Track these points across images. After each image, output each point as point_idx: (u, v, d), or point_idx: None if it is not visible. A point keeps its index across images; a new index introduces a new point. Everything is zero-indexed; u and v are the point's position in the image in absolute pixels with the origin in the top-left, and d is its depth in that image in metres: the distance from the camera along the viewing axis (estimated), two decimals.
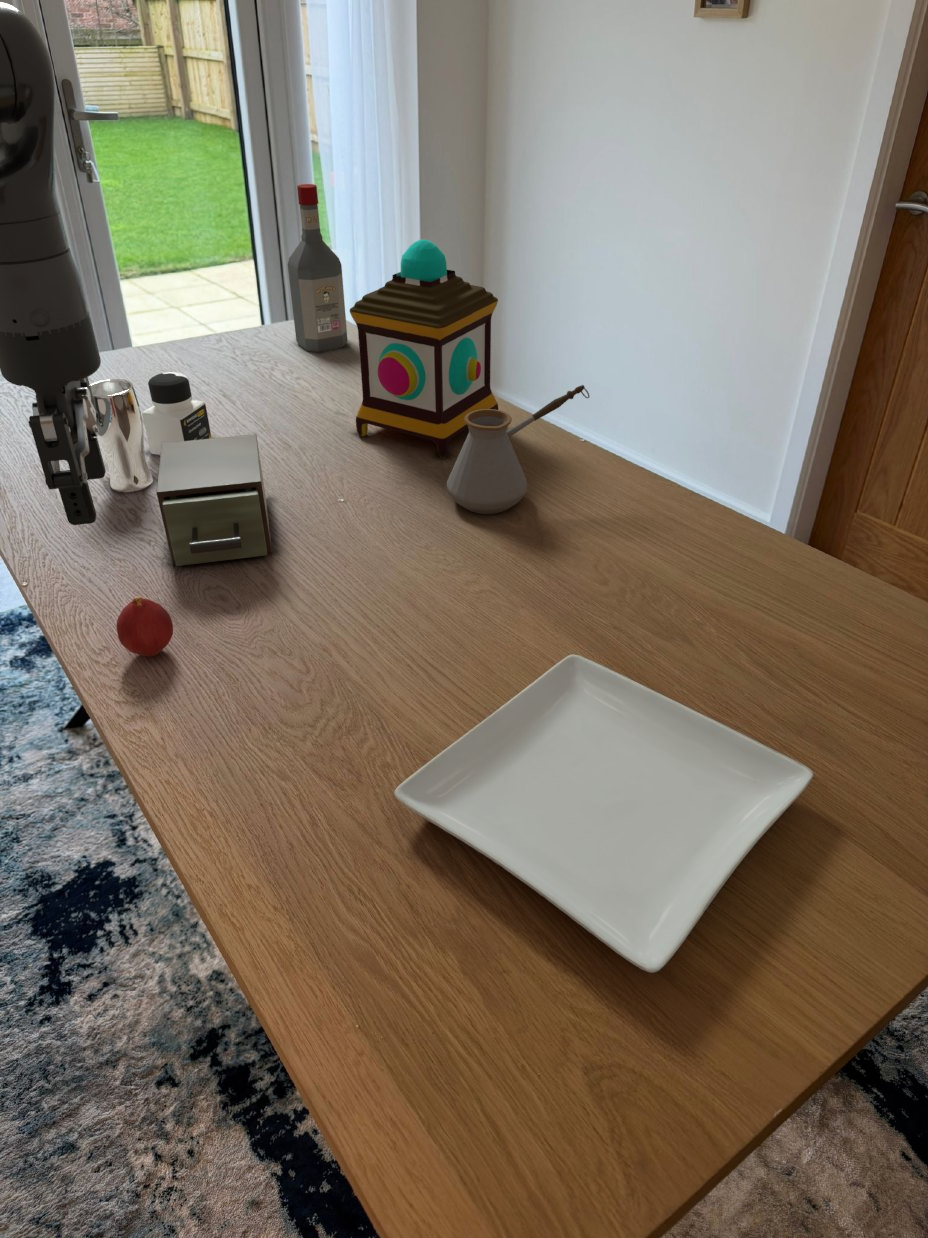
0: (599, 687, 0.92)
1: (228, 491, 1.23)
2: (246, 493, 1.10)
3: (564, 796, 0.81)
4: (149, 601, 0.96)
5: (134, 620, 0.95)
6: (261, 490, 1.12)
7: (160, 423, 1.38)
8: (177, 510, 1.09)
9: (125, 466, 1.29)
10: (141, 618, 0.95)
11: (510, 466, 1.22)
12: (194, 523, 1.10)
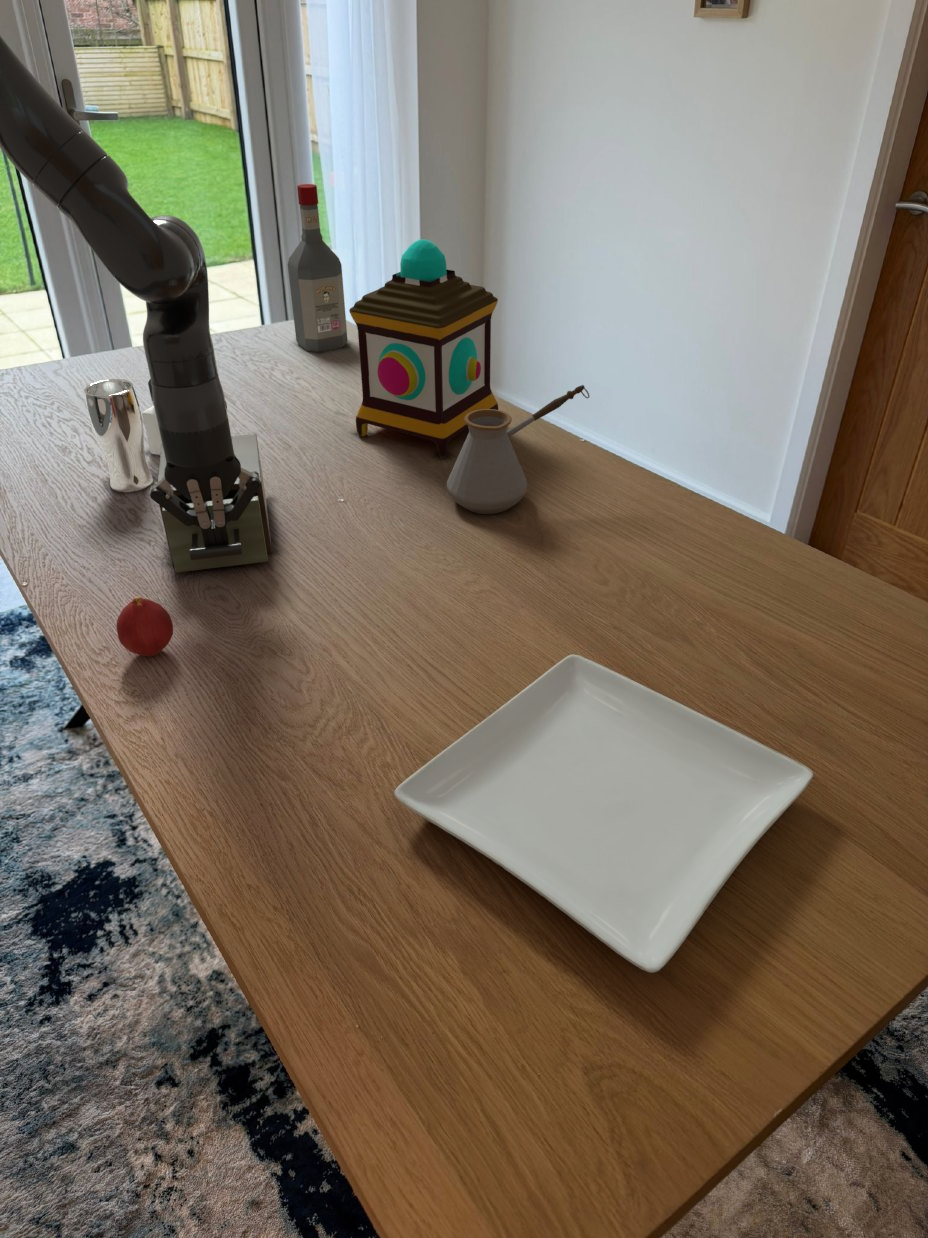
0: (599, 687, 0.92)
1: (228, 496, 1.21)
2: None
3: (564, 796, 0.81)
4: (149, 601, 0.96)
5: (134, 620, 0.95)
6: (261, 490, 1.12)
7: None
8: None
9: (125, 466, 1.29)
10: (141, 618, 0.95)
11: (510, 466, 1.22)
12: (194, 529, 1.09)
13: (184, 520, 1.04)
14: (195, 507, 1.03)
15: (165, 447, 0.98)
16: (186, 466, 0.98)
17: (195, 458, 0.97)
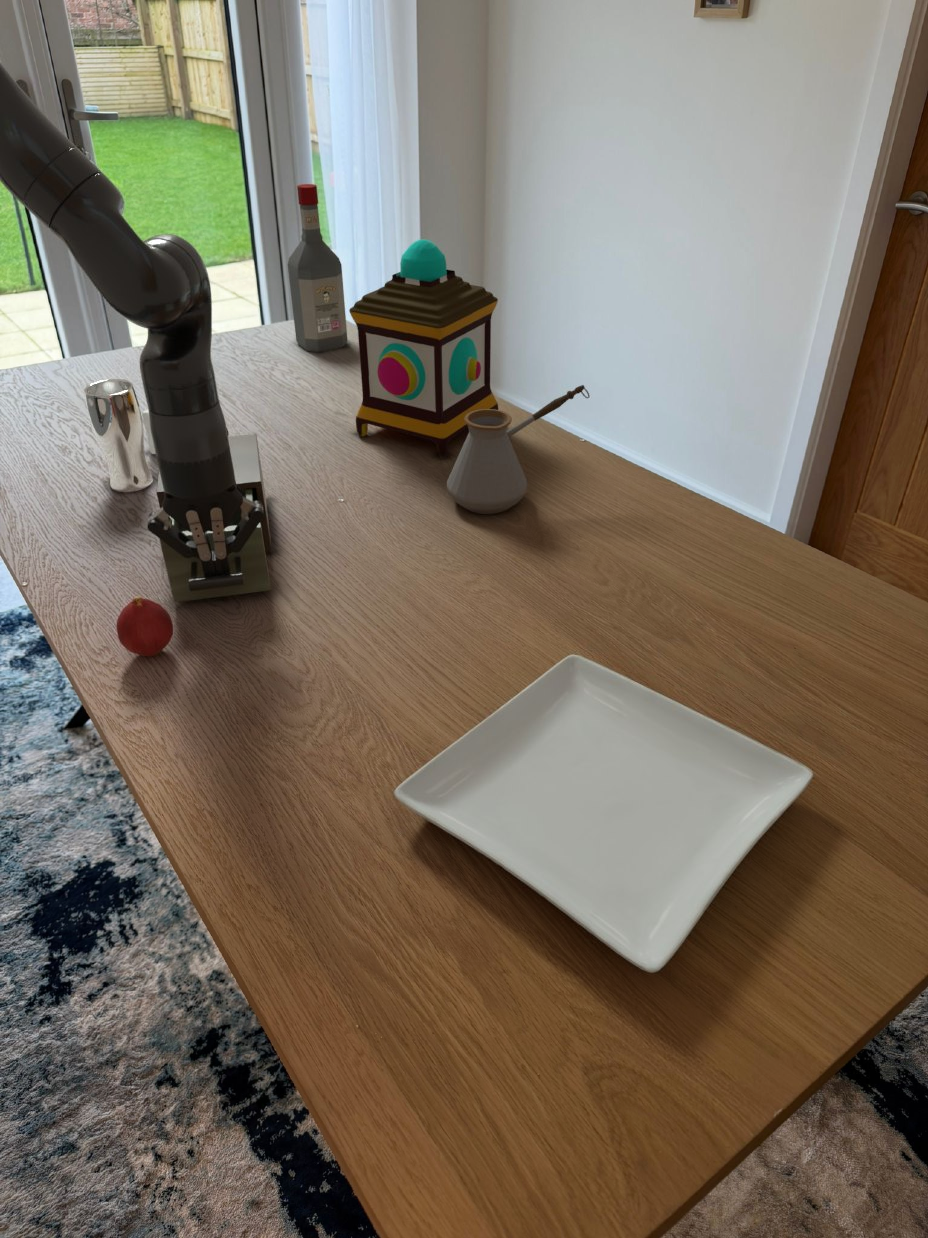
0: (599, 687, 0.92)
1: None
2: None
3: (564, 796, 0.81)
4: (149, 601, 0.96)
5: (134, 620, 0.95)
6: (261, 490, 1.12)
7: None
8: None
9: (125, 466, 1.29)
10: (141, 618, 0.95)
11: (510, 466, 1.22)
12: (193, 557, 1.04)
13: (183, 552, 0.99)
14: (195, 539, 0.98)
15: (163, 477, 0.93)
16: (185, 497, 0.93)
17: (195, 489, 0.92)
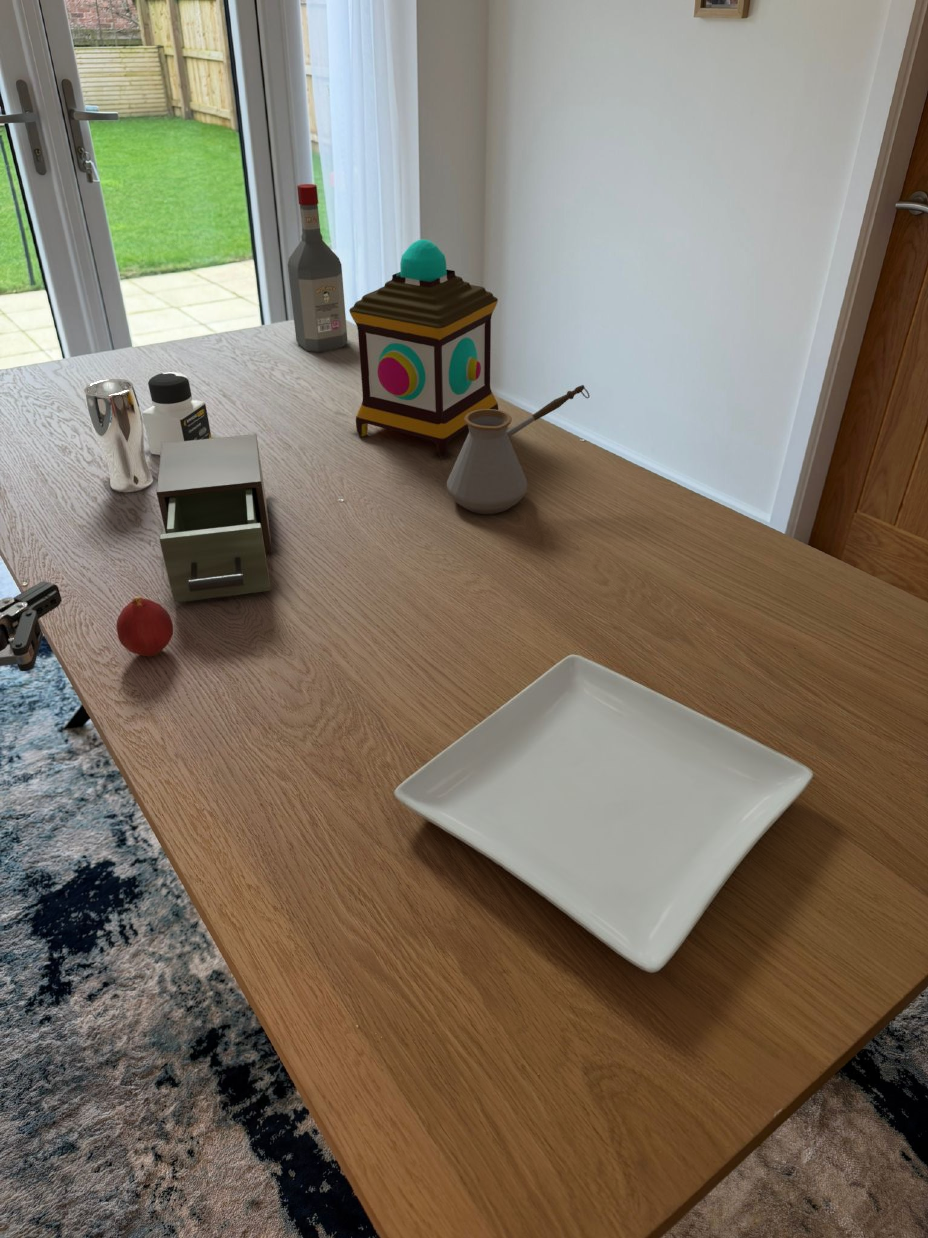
0: (599, 687, 0.92)
1: (229, 520, 1.16)
2: (248, 526, 1.04)
3: (564, 796, 0.81)
4: (149, 601, 0.96)
5: (134, 620, 0.95)
6: (261, 490, 1.12)
7: (160, 423, 1.38)
8: (175, 544, 1.02)
9: (125, 466, 1.29)
10: (141, 618, 0.95)
11: (510, 466, 1.22)
12: (193, 558, 1.04)
13: None
14: None
15: None
16: None
17: None
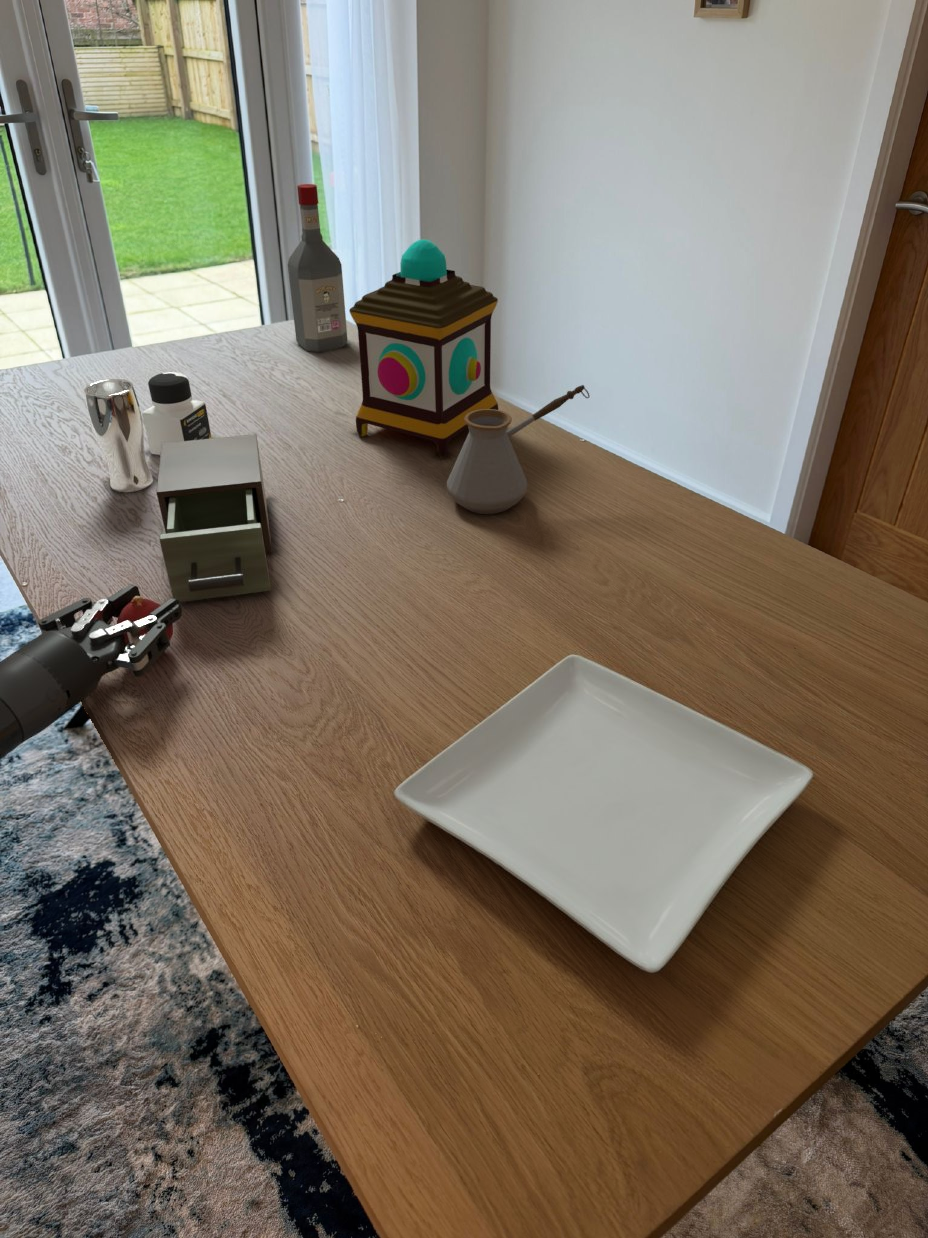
0: (599, 687, 0.92)
1: (229, 520, 1.16)
2: (248, 526, 1.04)
3: (564, 796, 0.81)
4: (149, 601, 0.96)
5: (134, 620, 0.95)
6: (261, 490, 1.12)
7: (160, 423, 1.38)
8: (175, 544, 1.02)
9: (125, 466, 1.29)
10: (141, 618, 0.95)
11: (510, 466, 1.22)
12: (193, 558, 1.04)
13: None
14: None
15: None
16: None
17: None
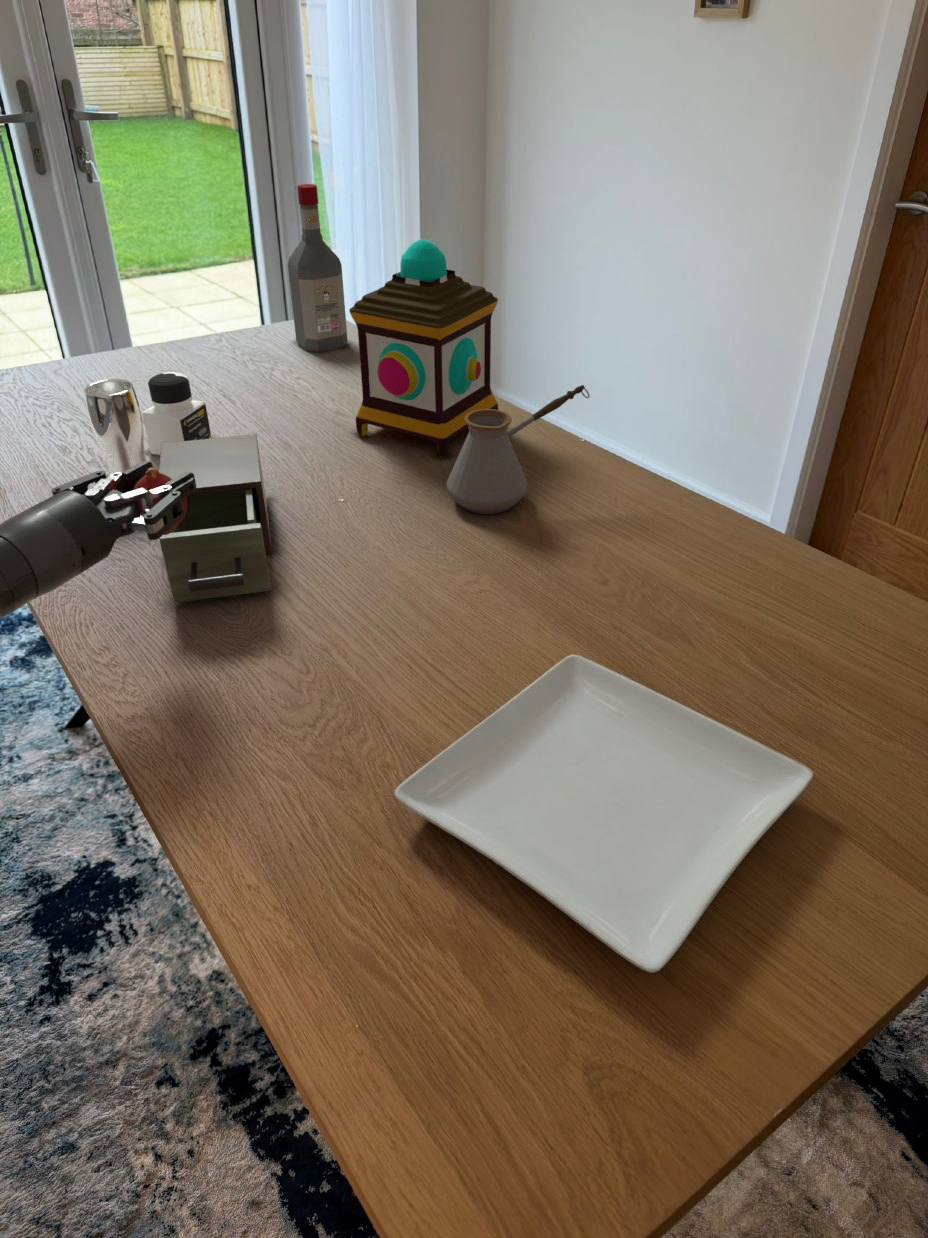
0: (599, 687, 0.92)
1: (229, 520, 1.16)
2: (248, 526, 1.04)
3: (564, 796, 0.81)
4: (163, 474, 0.95)
5: None
6: (261, 490, 1.12)
7: (160, 423, 1.38)
8: (175, 544, 1.02)
9: (125, 466, 1.29)
10: None
11: (510, 466, 1.22)
12: (193, 558, 1.04)
13: None
14: None
15: None
16: None
17: None
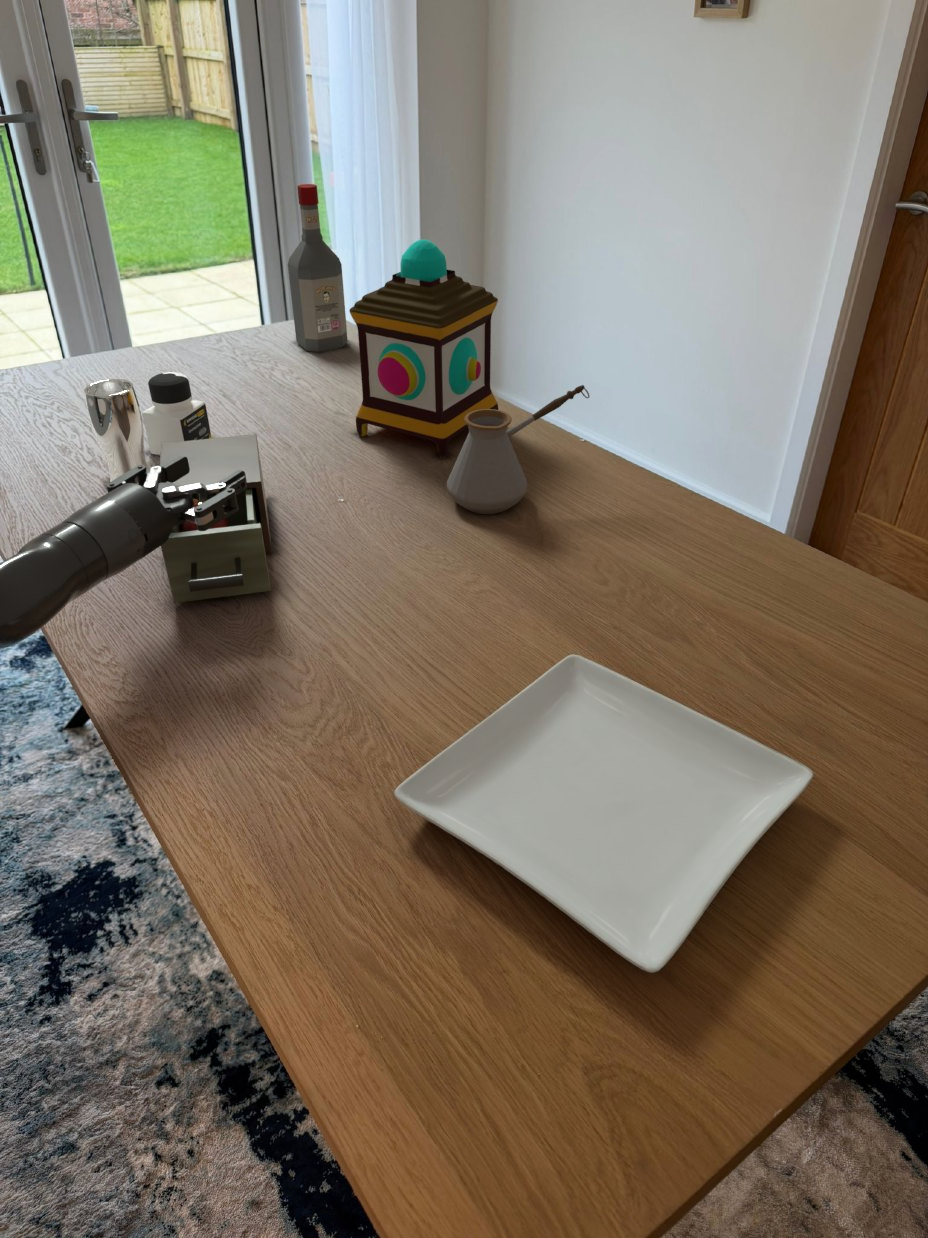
0: (599, 687, 0.92)
1: (229, 521, 1.16)
2: (248, 526, 1.04)
3: (564, 796, 0.81)
4: None
5: None
6: (261, 490, 1.12)
7: (160, 423, 1.38)
8: (175, 544, 1.02)
9: (125, 466, 1.29)
10: None
11: (510, 466, 1.22)
12: (193, 558, 1.04)
13: None
14: None
15: None
16: None
17: None
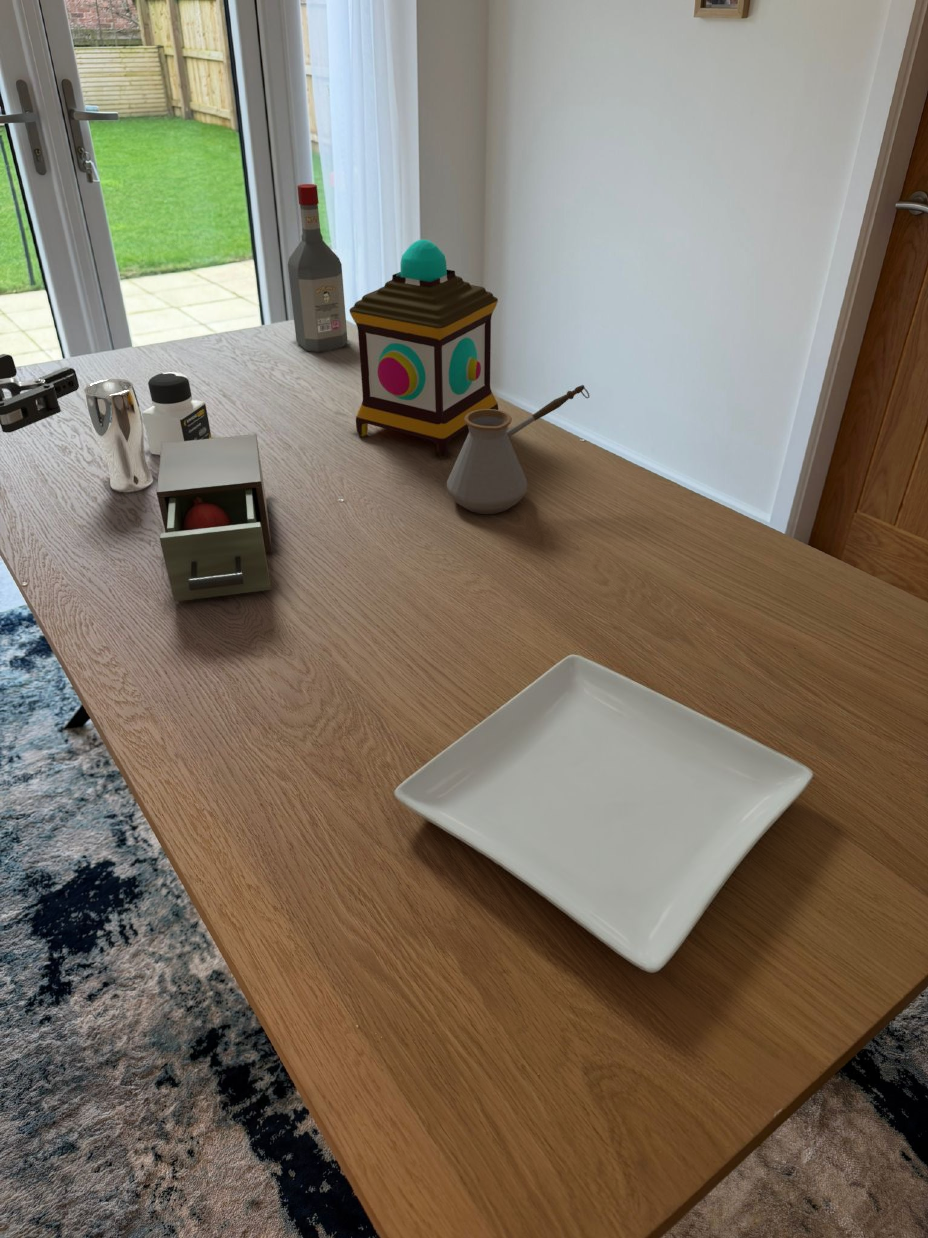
0: (599, 687, 0.92)
1: None
2: (248, 525, 1.04)
3: (564, 796, 0.81)
4: None
5: (196, 506, 1.11)
6: (261, 490, 1.12)
7: (160, 423, 1.38)
8: (175, 543, 1.02)
9: (125, 466, 1.29)
10: (201, 504, 1.11)
11: (510, 466, 1.22)
12: (193, 557, 1.04)
13: None
14: None
15: None
16: None
17: None
